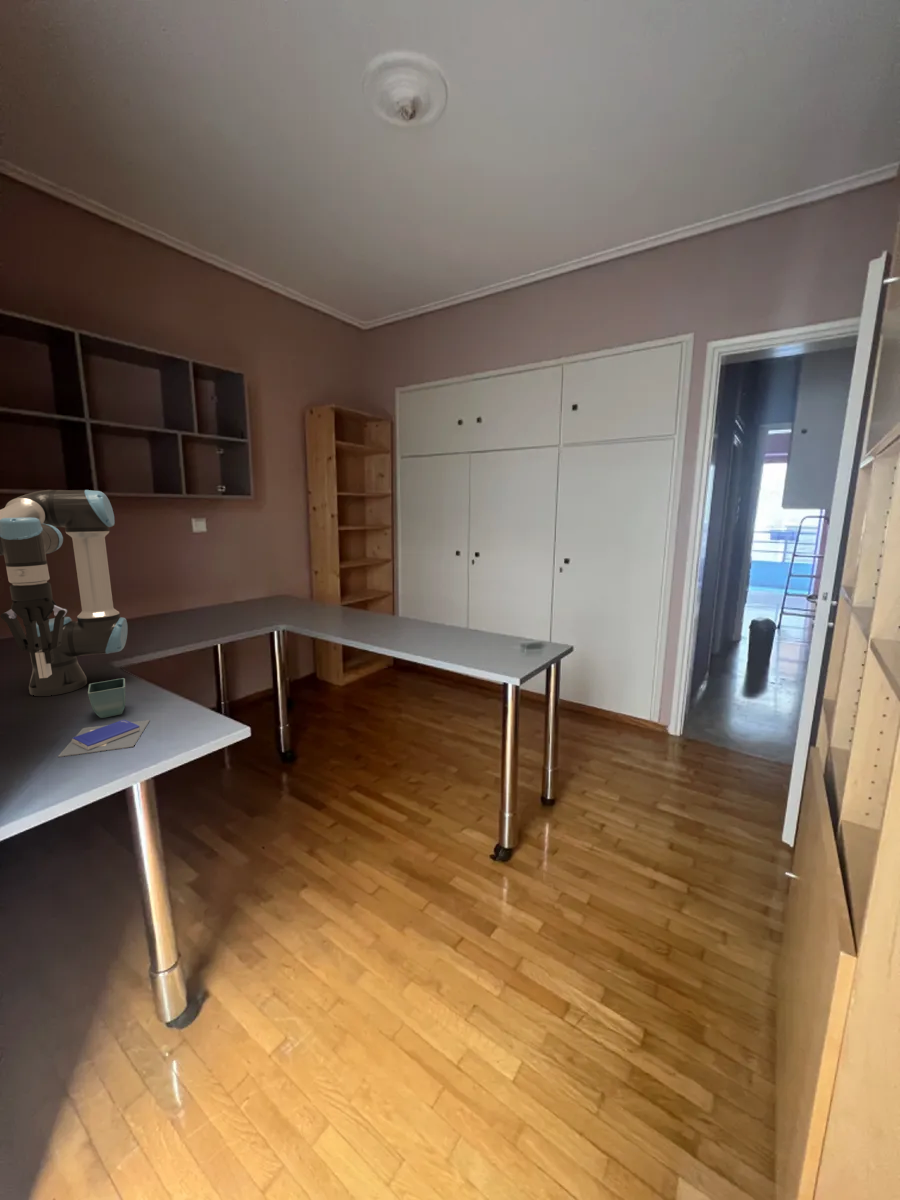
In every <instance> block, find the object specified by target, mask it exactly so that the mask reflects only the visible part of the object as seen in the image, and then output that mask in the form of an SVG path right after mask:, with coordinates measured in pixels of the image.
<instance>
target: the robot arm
mask: <svg viewBox="0 0 900 1200" xmlns="http://www.w3.org/2000/svg"><path fill="white" fill-rule="evenodd" d="M113 510H114V508H113V507H112V504H111V502H110V499H109V498H108V496H107V495H106V493H104V492H102V491H101V490H91V489H90V490H89V489H72V490H71V489H70V490H68V489H67V490H66V489H46V490H45V489H44V490H39V491H33V492H29V493H26V494H24V495H20V496H17V497H15V498H13V499H11V500H9V501H8V502H7V503H6V504H5V507H4V508H1V509H0V556H3V557H4V562H5V568H6V575H7V579H8V582H9V583H10V584H11V585H10V586H9V592H10V597H11V601H12V603H11V606H10V609H9V610H7V611H6V612H3V613H1V614H0V619H2V620H3V621H4V622H5V623H6V625H7V626H8V628H9V630H10V632H11V634H12V637H13V638H14V641H15V644H16V645H17V647H18V649H19V650H20V651H21V652H28V653H29V655H30V656H29V657H30V660H31V667H32V672H31V676H30V679H29V685H28V690H29V691H28V692H29V694H30V695H31V696H33V695H34V696H35V697H49V696H50V697H51V695H52V696H58V695H62V694H68V693H70V692H75V691H77V690H79V689H82V688H84V687H85V686H86V685H88V679H87V678H88V677H87V675H86V674H85V672H84V671H83V669H82V667H81V666H80V664H79V661H78V657H80V656H81V657H82V656H83V657H84V656H91V655H92V656H93V655H102V654H103V655H104V654H106V655H109V654H113V653H118V652H121V651H123V649H124V648H125V646H126V643H127V638H128V627H129V626H128V622H127V621H128V620H127V619H126V618H125V617H121V614H120V611H118V610H117V609H116V608H114V602H113V595H112V586H111V584H112V583H111V577H110V570H109V569H110V568H109V562H108V561H109V560H108V553H107V545H106V536H107V535H109V533H110V528H112V527H113V526H115V524H116V523H115V522H116V521H115V514H114V511H113ZM58 528H64V531H65V533H66V535H68V536H69V537H70V538H71V539H72V546H73V554H74V560H75V568H76V573H77V574H76V575H77V583H78V589H79V596H80V597H79V598H80V605H81V612H80V613H79V614H78V615H77V616H76V617H77V621H76V620H75V621H74V620H73V619H72V618H71V617H70V616H67V614H68V612H69V609H68V608H66V607H65V608H63V607H60V606H58V605H57V603H56V602H55V601H54V598H53V592H52V590H53V589H52V583H51V582H49V580H50V579H51V578H50V573H49V566H48V561H47V554H51V553H54V552H56V551H57V550H59V549H60V548H61V547H62V545H63V542H64V536H63V534H62V532H61V531H60V530H59V529H58ZM52 613H53V615H54V618H50V616H51V615H52ZM17 616H18V617H19V618H21V620H22V622H23V626H24V628H25V631H24V629H23V627H22V625H21V623H20V621H19V619H18V618H17ZM34 696H33V697H34Z"/></svg>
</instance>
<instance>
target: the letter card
mask: <svg viewBox="0 0 900 1200" xmlns="http://www.w3.org/2000/svg"><path fill="white" fill-rule="evenodd" d="M150 721H151V720H150V719H147V720H138V721H131V722H132V723H134V724H137V725H139V726H140V730H139V731H137V732H134V733H131V734H129V735H126V736H124V737H121V738H118V739H116V740H113V741H110V742H108V743H105V744H103V745H100V746H97V747H95V748H92V749H89V750H86V749H84V748H82V747H80V746H78V745H76V744H74V743H73V742H72V740H71V741H70V742H69V743H68V744H67V746H65V748H63V750H61V752H60V753H59V754H58V755H57V758H64V756H65V757H72V756H79V754H80V755H86V754H85V753H87V754H94V753H93V752H95V753H101V752H100V751H102V752H107V751H106V750H109V751H115V749H117V750H123V749H122V748H124V749H130V748H129V747H132V748H134V747H135V746H136V744H137V743H138V741H139V740H140V738H141V736H142V735H143V733H142V732H144V731H145V730H144V729H146V728H147V727H148V725H147V724H149V723H150ZM107 725H108V724H106V725H96V726H88V727H82V728H81V730H80V731H79V732H78V733H77V734H76V735H75V736H74V737H76V736H79V735H82V734H84V733H87V732H90V731H93V730H96V729H98V728H101V727H104V726H107ZM139 737H140V738H139ZM136 742H137V743H136ZM134 745H135V746H134ZM71 755H72V756H71Z"/></svg>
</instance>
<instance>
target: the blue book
mask: <svg viewBox="0 0 900 1200" xmlns="http://www.w3.org/2000/svg"><path fill="white" fill-rule="evenodd" d="M132 722H133V721H129V720H127V719H120V720H118V721H116V722H112V723H110V724H106V725H107V726H104V725H103V726H104V727H101V728H98V729H96V730H93V731H90V732H87V733H84V734H82V735H79V736H76V735H75V736H76V737H75V736H74V737H72V738H71V741H72V742H73V743H74V744H76V745H78V746H80V747H82V748H84V749H86V750H89V749H92V748H95V747H97V746H100V745H103V744H105V743H108V742H110V741H113V740H116V739H118V738H121V737H124V736H126V735H129V734H131V733H134V732H137V731H139V730H140V726H139V725H137V724H134V723H132Z"/></svg>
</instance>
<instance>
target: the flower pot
mask: <svg viewBox="0 0 900 1200" xmlns="http://www.w3.org/2000/svg"><path fill="white" fill-rule="evenodd" d="M87 690H88V691H87V696H88V699H89V702H90V706H91V708H92V710H93V712H94V713H95V714H96V716H98V717H99V719H106V718H109V717H114V716H119V715H122V714H123V712H124V710H125V707H126V702H127V700H126V699H127V698H126V678H124V677H122V678H116V679H111V680H105V681H99V682H92V683H89V684H88V689H87Z"/></svg>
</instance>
